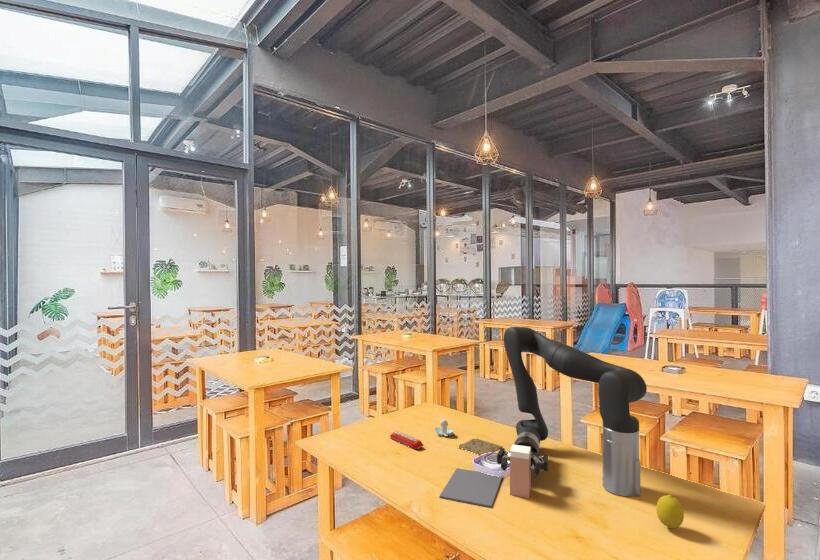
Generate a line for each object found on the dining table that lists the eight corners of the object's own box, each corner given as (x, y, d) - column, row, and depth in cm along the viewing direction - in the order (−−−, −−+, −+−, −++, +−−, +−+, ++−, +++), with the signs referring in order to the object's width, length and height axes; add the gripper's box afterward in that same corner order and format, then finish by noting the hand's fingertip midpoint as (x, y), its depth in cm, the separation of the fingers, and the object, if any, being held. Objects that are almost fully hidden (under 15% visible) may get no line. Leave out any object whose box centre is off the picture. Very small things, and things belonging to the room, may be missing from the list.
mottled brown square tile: (504, 447, 150) (504, 445, 150) (485, 458, 141) (485, 455, 141) (475, 439, 158) (475, 436, 158) (455, 448, 149) (455, 446, 149)
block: (530, 489, 120) (530, 446, 120) (528, 498, 115) (528, 453, 115) (512, 486, 122) (512, 444, 121) (509, 494, 117) (509, 451, 117)
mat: (502, 477, 127) (502, 475, 127) (491, 507, 110) (491, 505, 110) (456, 469, 132) (456, 468, 132) (439, 497, 115) (439, 495, 115)
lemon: (673, 521, 104) (673, 488, 104) (689, 535, 98) (689, 500, 98) (651, 522, 104) (651, 489, 104) (665, 536, 98) (665, 501, 98)
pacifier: (439, 431, 166) (433, 435, 161) (439, 414, 166) (433, 418, 161) (457, 434, 163) (451, 439, 157) (457, 417, 163) (451, 421, 158)
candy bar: (388, 439, 158) (388, 430, 158) (395, 436, 161) (395, 428, 161) (417, 452, 146) (417, 443, 146) (425, 449, 148) (425, 440, 148)
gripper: (503, 432, 135) (493, 452, 120) (550, 439, 130) (546, 460, 115) (503, 456, 135) (493, 479, 120) (550, 463, 130) (546, 488, 115)
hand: (519, 469), depth 117 cm, fingers open, 8 cm apart
